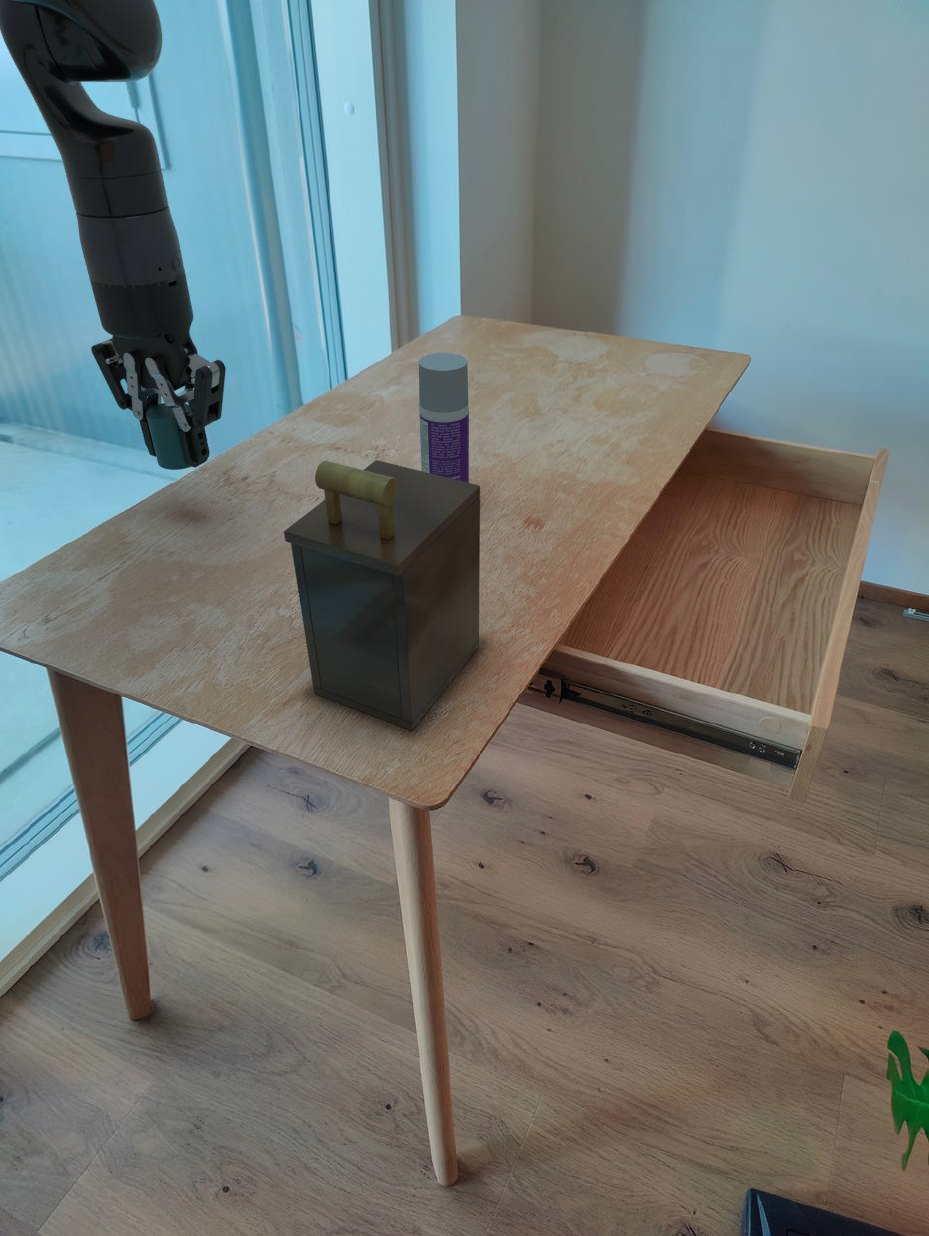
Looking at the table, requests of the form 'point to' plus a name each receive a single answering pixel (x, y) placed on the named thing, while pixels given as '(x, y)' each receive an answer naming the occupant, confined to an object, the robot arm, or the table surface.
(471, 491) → the lid
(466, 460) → the container
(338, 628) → the chest
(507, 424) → the table surface
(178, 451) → the teal cylinder
